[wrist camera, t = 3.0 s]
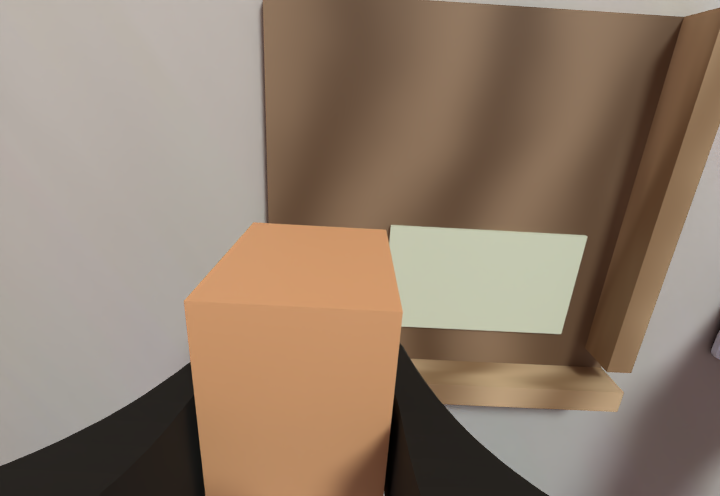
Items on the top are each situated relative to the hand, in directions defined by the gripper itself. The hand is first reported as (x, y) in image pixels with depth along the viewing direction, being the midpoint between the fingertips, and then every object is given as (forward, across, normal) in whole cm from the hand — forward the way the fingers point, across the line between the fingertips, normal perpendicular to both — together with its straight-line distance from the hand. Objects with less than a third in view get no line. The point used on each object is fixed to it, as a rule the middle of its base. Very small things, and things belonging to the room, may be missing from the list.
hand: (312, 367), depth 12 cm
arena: (+9, -6, -2) cm, 11 cm away
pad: (+9, -7, 0) cm, 11 cm away
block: (+2, 0, 0) cm, 2 cm away
